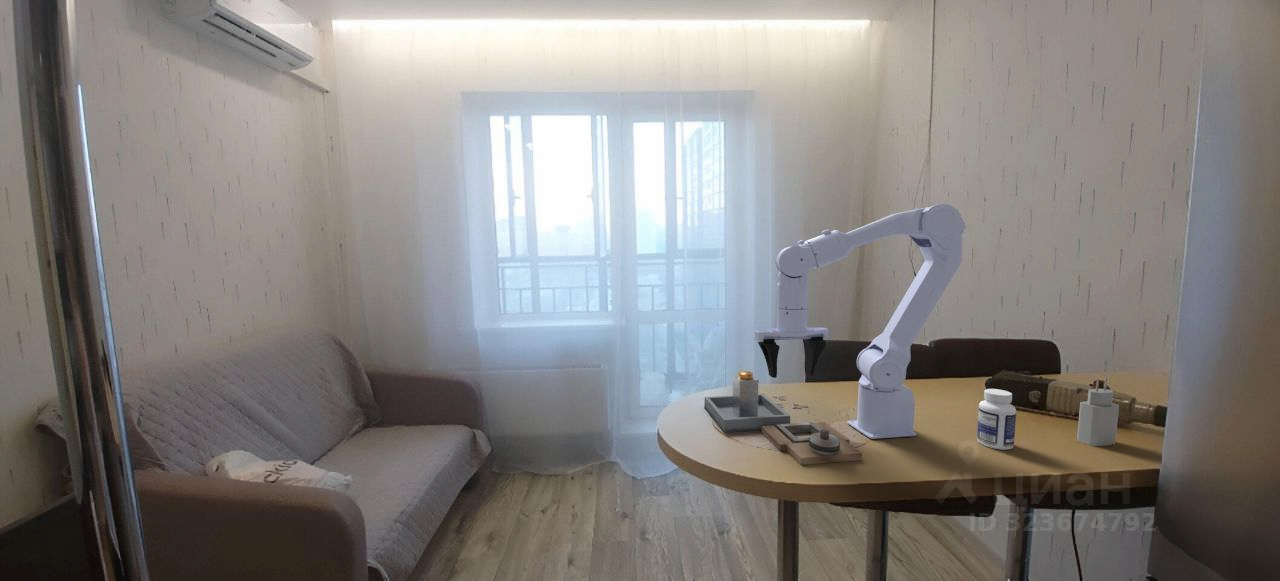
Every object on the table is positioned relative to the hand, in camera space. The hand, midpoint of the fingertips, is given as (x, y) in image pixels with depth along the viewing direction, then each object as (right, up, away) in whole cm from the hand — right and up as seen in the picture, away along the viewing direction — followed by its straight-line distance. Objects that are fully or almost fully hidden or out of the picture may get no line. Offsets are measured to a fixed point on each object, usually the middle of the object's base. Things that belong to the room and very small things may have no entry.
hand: (790, 375), depth 94 cm
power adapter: (+53, -11, -8) cm, 55 cm away
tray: (-8, -10, +5) cm, 14 cm away
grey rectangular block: (-8, -9, +5) cm, 13 cm away
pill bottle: (+34, -11, -8) cm, 37 cm away
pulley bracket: (+1, -11, -8) cm, 14 cm away
